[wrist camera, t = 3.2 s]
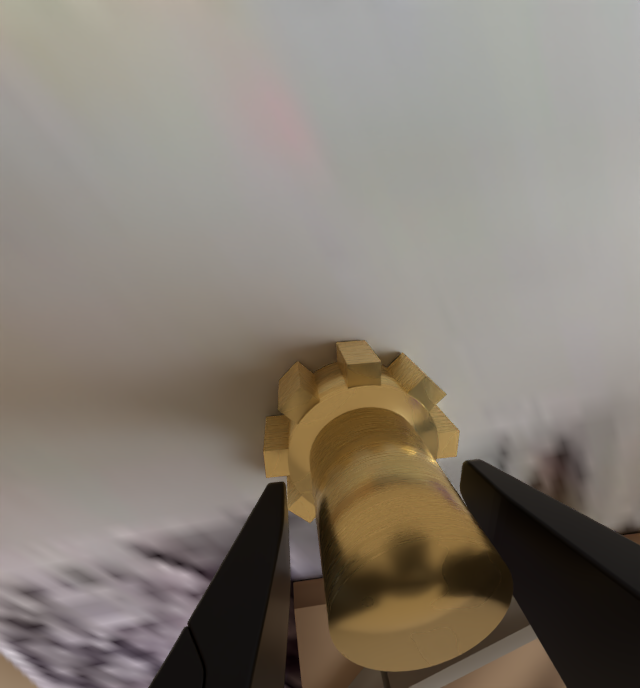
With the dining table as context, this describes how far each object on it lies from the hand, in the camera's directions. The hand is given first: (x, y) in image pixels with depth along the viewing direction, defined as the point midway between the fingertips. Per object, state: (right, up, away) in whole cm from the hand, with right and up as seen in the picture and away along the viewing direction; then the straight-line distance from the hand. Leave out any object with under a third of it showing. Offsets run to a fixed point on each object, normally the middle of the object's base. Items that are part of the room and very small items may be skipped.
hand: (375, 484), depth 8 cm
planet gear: (0, +1, +3) cm, 3 cm away
